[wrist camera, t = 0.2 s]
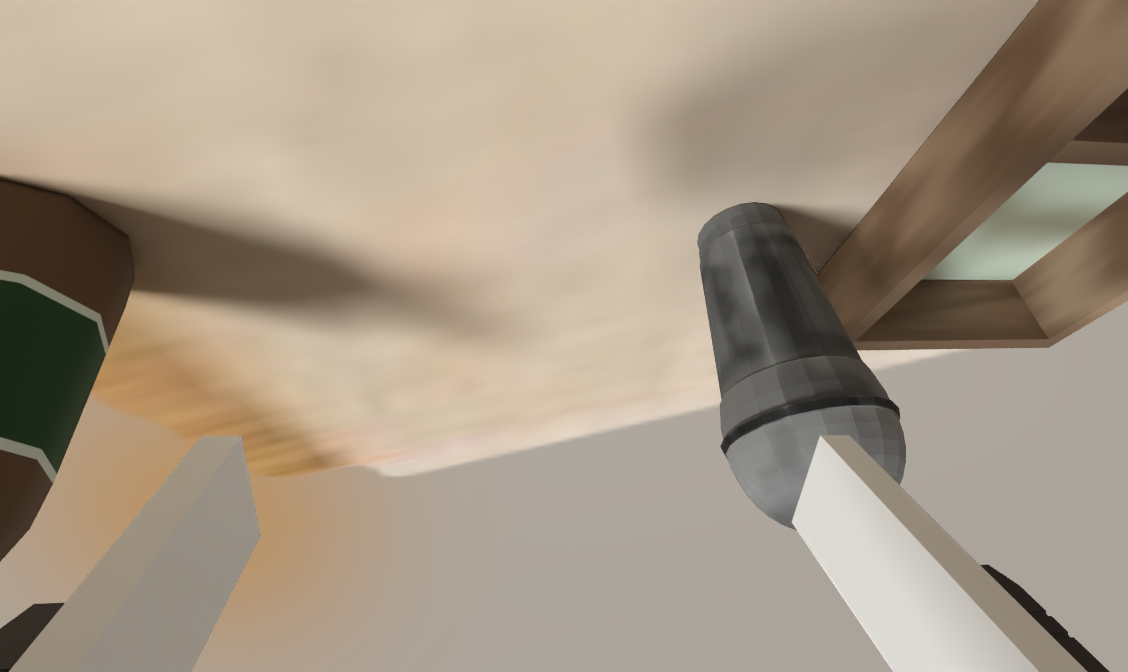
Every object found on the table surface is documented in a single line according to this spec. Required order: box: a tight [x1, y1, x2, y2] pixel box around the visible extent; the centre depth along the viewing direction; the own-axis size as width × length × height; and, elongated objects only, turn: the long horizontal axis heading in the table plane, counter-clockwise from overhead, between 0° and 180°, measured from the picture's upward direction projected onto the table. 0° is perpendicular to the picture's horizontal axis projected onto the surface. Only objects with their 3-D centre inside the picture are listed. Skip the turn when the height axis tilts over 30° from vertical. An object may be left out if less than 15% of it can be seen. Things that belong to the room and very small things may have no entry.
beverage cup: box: [697, 203, 906, 530], centre depth 24 cm, size 7×7×20 cm
